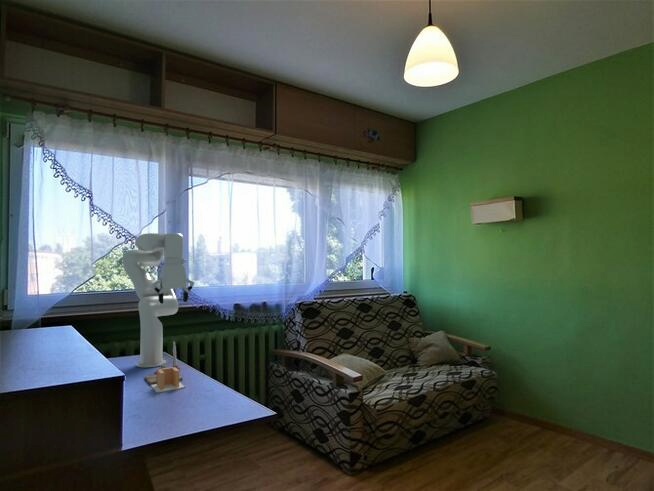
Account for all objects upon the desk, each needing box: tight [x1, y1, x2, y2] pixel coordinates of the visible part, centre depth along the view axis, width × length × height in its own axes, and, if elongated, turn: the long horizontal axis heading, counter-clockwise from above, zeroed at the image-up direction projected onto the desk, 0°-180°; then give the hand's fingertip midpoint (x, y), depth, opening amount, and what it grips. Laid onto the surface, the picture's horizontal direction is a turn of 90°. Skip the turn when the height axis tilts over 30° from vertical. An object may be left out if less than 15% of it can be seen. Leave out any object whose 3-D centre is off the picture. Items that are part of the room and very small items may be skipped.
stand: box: [144, 364, 184, 386], centre depth 169 cm, size 12×12×6 cm
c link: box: [156, 366, 180, 390], centre depth 158 cm, size 7×7×6 cm
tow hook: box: [154, 341, 181, 374], centre depth 181 cm, size 8×13×9 cm
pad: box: [150, 381, 186, 393], centre depth 158 cm, size 10×10×1 cm
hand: (173, 302), depth 177 cm, fingers open, 9 cm apart
